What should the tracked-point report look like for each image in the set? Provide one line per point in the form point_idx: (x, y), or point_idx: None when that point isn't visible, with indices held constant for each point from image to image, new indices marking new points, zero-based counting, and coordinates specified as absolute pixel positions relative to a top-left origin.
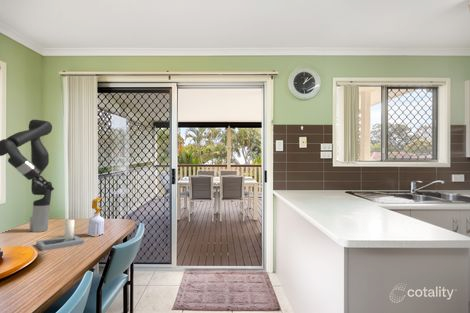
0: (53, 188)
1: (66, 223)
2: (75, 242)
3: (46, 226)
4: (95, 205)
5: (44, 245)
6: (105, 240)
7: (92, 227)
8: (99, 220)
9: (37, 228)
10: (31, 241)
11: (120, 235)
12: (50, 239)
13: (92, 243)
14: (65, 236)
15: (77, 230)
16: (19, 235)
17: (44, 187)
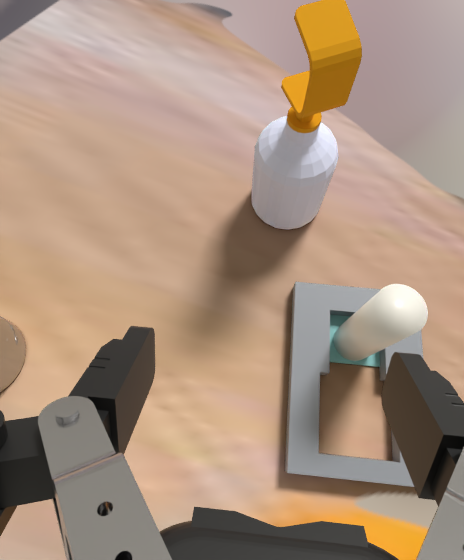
0: (420, 363)
1: (403, 338)
2: (419, 331)
3: (9, 328)
4: (338, 91)
5: (406, 470)
6: (408, 210)
7: (316, 199)
8: (336, 149)
9: (3, 376)
10: (200, 467)
11: (362, 135)
12: (298, 404)
13: (425, 268)
14: (372, 353)
15: (136, 221)
16: None
17: (134, 422)
